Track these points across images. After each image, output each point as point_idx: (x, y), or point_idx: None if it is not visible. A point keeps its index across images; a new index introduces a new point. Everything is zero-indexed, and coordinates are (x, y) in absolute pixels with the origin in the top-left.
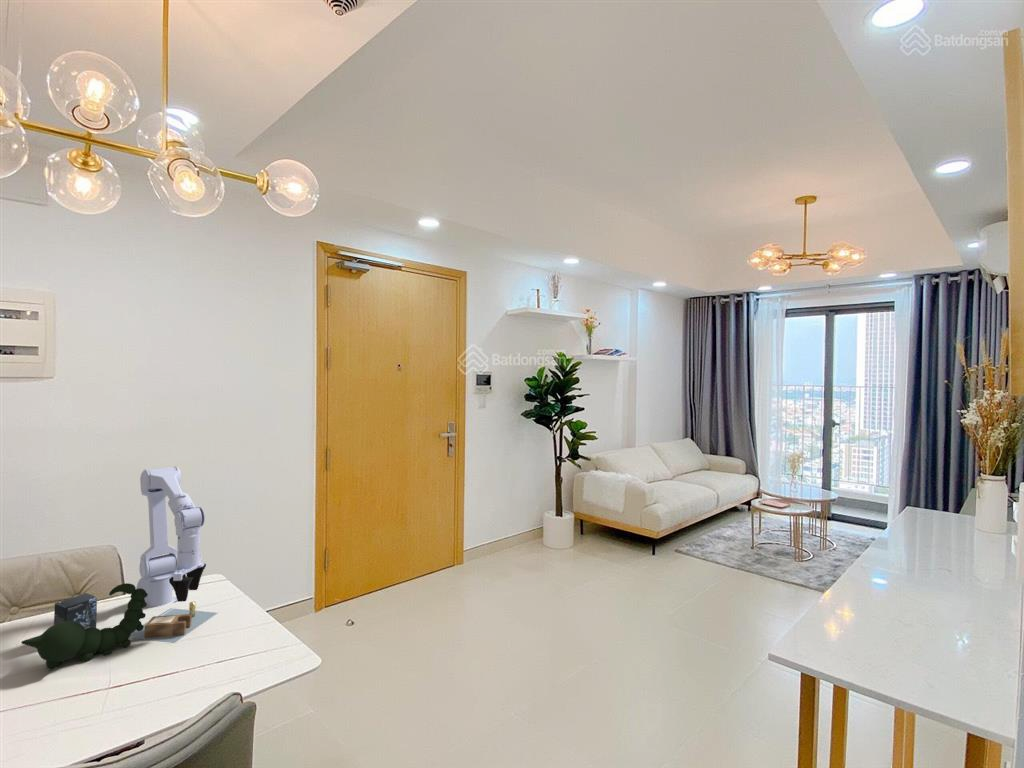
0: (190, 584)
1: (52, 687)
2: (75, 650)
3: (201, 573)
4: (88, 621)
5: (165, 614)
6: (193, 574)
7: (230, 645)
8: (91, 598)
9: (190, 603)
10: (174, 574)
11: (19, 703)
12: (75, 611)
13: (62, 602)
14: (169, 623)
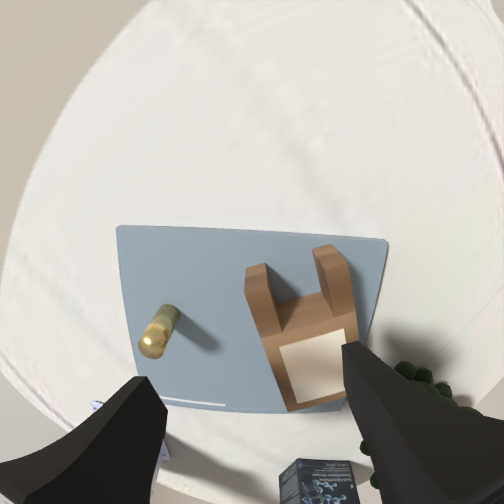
0: (154, 437)
1: (493, 360)
2: (469, 409)
3: (61, 452)
4: (317, 485)
5: (184, 397)
6: (117, 492)
7: (354, 31)
8: None
9: (159, 353)
10: None
11: None
12: None
13: None
14: (351, 326)
